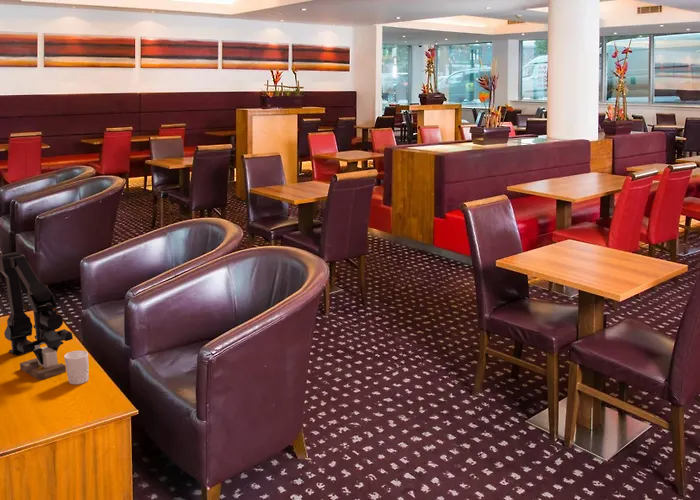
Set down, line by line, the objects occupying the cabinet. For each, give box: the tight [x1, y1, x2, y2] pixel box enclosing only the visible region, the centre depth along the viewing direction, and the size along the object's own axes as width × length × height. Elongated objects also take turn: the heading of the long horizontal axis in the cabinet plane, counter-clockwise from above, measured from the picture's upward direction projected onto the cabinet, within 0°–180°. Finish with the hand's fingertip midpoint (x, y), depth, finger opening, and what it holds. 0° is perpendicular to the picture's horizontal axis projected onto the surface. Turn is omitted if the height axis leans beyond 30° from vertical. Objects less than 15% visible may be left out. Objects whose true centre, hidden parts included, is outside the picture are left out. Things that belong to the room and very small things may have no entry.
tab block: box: [38, 345, 59, 369], centre depth 268 cm, size 7×4×6 cm, turn 50°
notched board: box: [19, 357, 67, 381], centre depth 267 cm, size 14×10×2 cm
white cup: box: [63, 350, 90, 385], centre depth 258 cm, size 8×8×10 cm
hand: (47, 362), depth 268 cm, fingers closed on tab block, 4 cm apart
